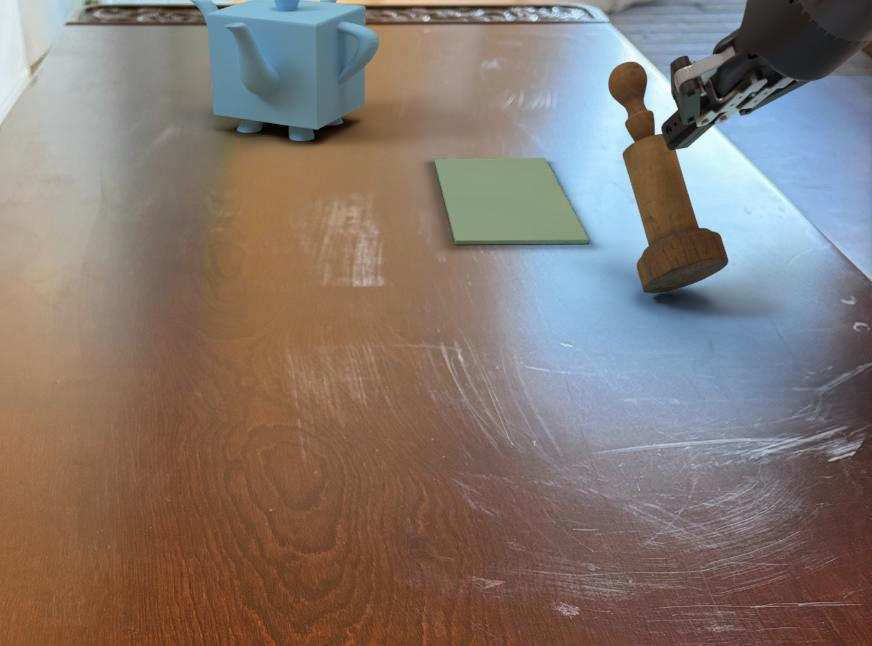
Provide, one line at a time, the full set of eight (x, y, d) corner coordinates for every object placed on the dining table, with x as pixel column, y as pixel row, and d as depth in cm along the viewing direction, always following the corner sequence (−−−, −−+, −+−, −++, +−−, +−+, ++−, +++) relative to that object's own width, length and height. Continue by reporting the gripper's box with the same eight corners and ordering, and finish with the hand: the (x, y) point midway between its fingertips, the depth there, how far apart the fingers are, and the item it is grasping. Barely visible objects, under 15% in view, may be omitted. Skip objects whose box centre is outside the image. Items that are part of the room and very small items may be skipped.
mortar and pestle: (735, 268, 83) (672, 59, 84) (721, 252, 77) (654, 30, 79) (653, 299, 86) (594, 98, 88) (634, 286, 80) (572, 71, 82)
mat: (544, 161, 113) (545, 157, 113) (588, 243, 94) (589, 239, 93) (434, 162, 113) (434, 158, 113) (455, 244, 94) (455, 240, 93)
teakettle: (387, 140, 120) (391, -3, 111) (228, 155, 115) (219, 8, 106) (337, 99, 134) (338, -29, 125) (195, 111, 130) (184, -21, 121)
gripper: (901, -80, 65) (722, 83, 82) (739, -67, 61) (584, 104, 77) (944, 28, 65) (755, 171, 81) (783, 49, 60) (617, 197, 76)
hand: (671, 138), depth 79 cm, fingers closed
